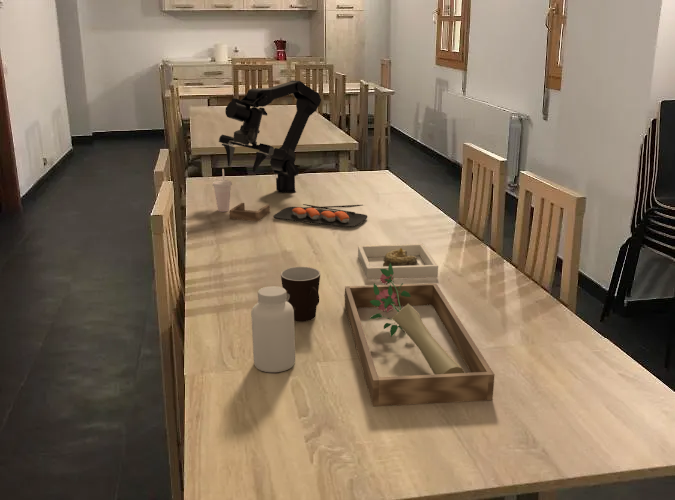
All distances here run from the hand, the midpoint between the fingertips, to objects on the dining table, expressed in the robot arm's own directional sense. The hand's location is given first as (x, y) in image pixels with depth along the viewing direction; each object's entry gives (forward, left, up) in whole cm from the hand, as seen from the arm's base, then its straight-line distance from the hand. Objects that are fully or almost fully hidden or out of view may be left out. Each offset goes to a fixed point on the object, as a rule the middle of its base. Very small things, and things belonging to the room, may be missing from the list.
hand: (241, 169), depth 247 cm
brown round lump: (-43, +71, -12) cm, 84 cm away
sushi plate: (-29, +19, -12) cm, 37 cm away
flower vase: (-36, +119, -12) cm, 125 cm away
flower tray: (-36, +118, -12) cm, 124 cm away
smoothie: (+6, +11, -12) cm, 17 cm away
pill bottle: (-9, +122, -12) cm, 123 cm away
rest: (-3, +19, -12) cm, 22 cm away
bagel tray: (-42, +71, -12) cm, 83 cm away
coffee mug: (-15, +102, -12) cm, 104 cm away
